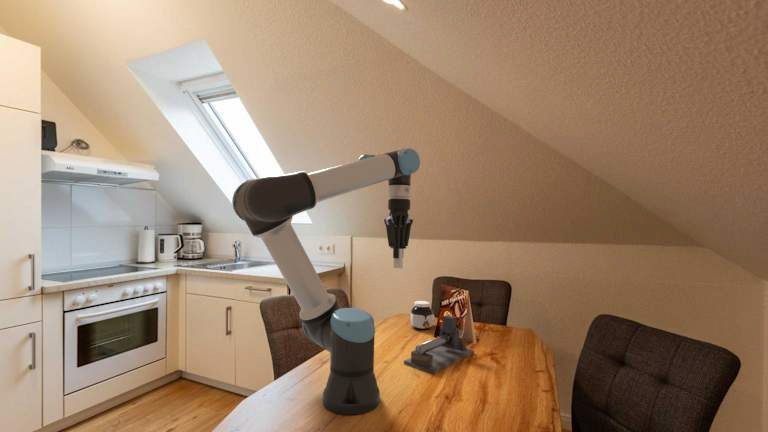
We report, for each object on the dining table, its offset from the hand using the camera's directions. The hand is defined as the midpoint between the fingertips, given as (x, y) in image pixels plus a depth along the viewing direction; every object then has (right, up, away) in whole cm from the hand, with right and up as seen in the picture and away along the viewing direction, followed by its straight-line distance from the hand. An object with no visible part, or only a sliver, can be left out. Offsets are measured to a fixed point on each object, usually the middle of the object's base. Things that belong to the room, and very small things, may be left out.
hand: (398, 267), depth 125 cm
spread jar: (+13, -33, +43) cm, 56 cm away
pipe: (+15, -28, +5) cm, 33 cm away
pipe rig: (+15, -33, +5) cm, 36 cm away
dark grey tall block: (+19, -30, +9) cm, 37 cm away
